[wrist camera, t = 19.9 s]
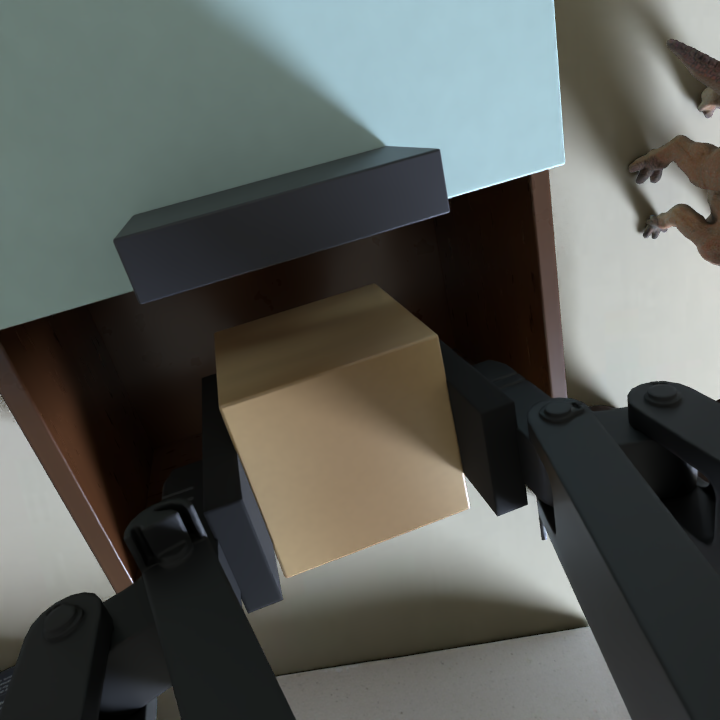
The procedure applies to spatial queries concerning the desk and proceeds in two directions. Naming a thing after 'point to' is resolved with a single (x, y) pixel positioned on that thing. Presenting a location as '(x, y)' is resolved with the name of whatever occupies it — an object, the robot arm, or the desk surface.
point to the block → (340, 424)
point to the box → (468, 684)
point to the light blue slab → (250, 132)
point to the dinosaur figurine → (690, 163)
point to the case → (251, 302)
